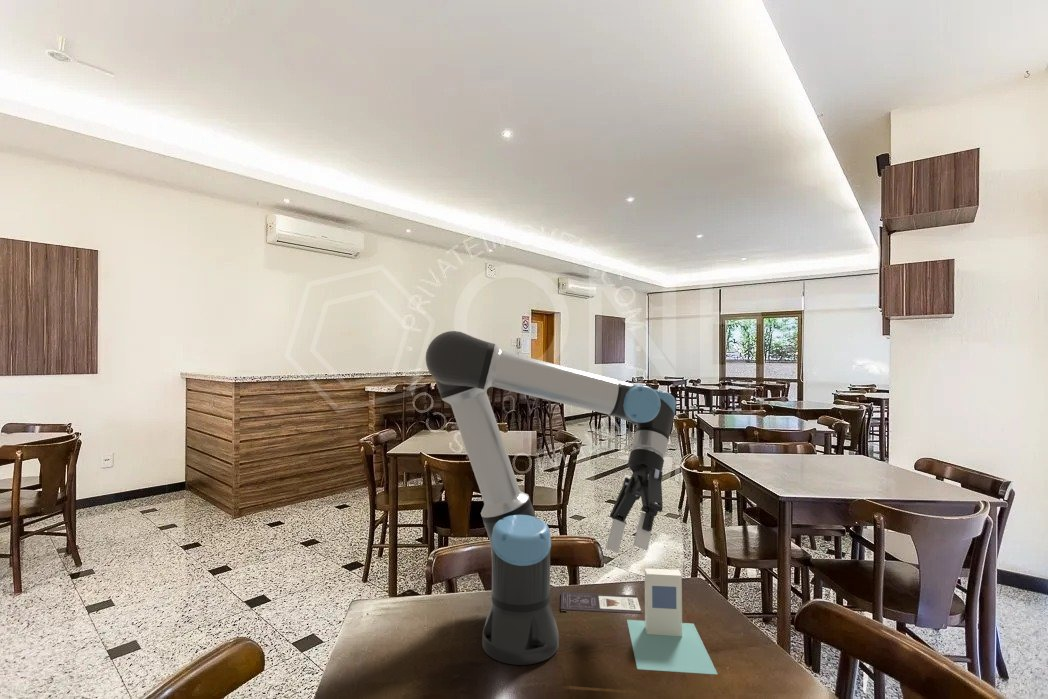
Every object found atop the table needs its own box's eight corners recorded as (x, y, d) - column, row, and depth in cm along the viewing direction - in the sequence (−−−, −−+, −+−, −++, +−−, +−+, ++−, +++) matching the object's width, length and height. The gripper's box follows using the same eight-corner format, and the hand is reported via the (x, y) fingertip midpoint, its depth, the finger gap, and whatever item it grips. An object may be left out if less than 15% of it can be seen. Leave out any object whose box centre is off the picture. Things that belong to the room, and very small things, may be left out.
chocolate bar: (561, 591, 120) (636, 595, 118) (561, 595, 120) (636, 599, 118) (560, 609, 111) (641, 613, 109) (560, 613, 111) (641, 617, 109)
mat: (637, 671, 89) (637, 669, 89) (626, 621, 106) (626, 619, 106) (717, 676, 87) (717, 674, 87) (693, 625, 105) (693, 623, 105)
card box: (647, 634, 101) (646, 574, 101) (644, 626, 104) (644, 568, 104) (682, 636, 100) (681, 575, 100) (679, 628, 103) (678, 569, 103)
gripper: (692, 449, 101) (672, 553, 91) (637, 471, 123) (616, 557, 113) (659, 434, 100) (636, 538, 91) (610, 459, 122) (587, 545, 113)
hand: (625, 549), depth 102 cm, fingers open, 13 cm apart
